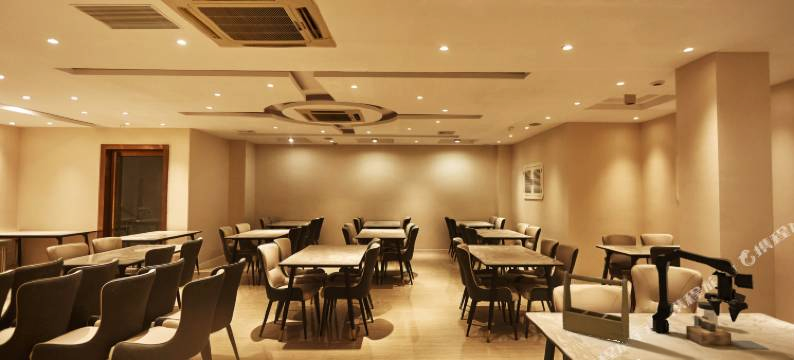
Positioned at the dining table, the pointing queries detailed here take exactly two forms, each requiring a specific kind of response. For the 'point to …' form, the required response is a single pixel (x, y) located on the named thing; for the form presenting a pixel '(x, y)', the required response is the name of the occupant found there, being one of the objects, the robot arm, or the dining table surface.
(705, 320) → the tan wooden bar
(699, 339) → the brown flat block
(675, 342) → the dining table surface
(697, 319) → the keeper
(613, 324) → the caddy
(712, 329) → the lid
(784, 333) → the dining table surface
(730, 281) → the robot arm
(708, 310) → the jar
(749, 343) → the mat
